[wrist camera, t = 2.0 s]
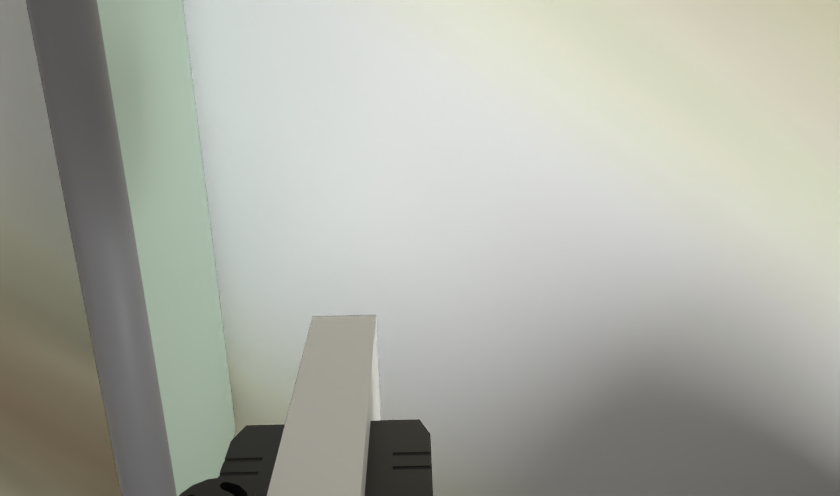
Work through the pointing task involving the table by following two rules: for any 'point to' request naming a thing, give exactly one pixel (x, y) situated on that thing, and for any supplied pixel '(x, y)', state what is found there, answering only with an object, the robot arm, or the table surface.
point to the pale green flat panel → (140, 232)
